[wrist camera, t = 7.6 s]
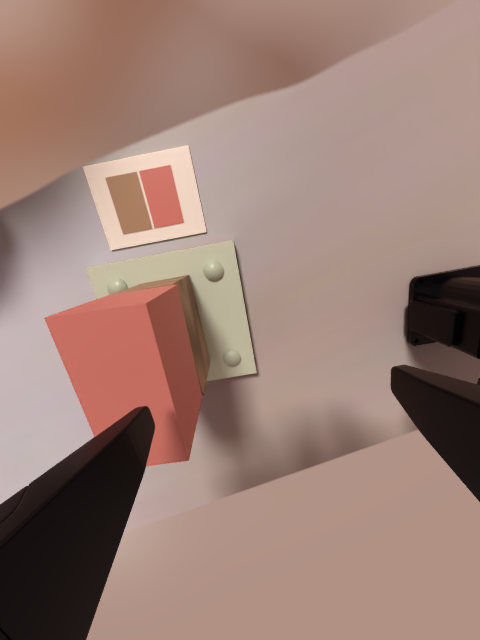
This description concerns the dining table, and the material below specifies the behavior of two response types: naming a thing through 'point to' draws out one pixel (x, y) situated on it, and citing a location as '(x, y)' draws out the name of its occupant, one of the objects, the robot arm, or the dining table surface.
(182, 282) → the brick walnut
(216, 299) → the plate
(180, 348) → the brick red
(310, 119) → the dining table surface
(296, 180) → the dining table surface
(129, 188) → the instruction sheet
